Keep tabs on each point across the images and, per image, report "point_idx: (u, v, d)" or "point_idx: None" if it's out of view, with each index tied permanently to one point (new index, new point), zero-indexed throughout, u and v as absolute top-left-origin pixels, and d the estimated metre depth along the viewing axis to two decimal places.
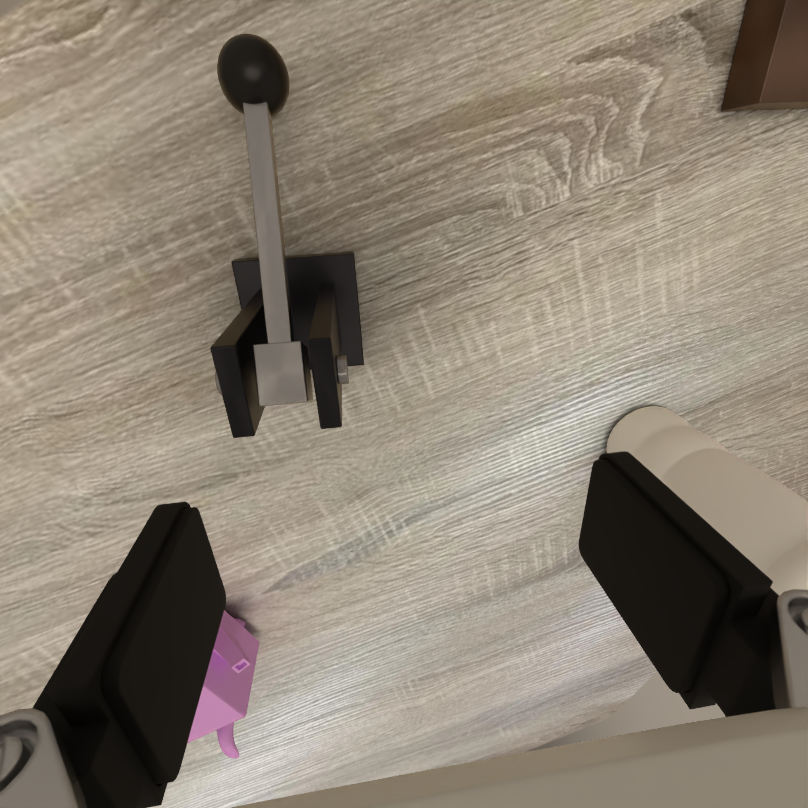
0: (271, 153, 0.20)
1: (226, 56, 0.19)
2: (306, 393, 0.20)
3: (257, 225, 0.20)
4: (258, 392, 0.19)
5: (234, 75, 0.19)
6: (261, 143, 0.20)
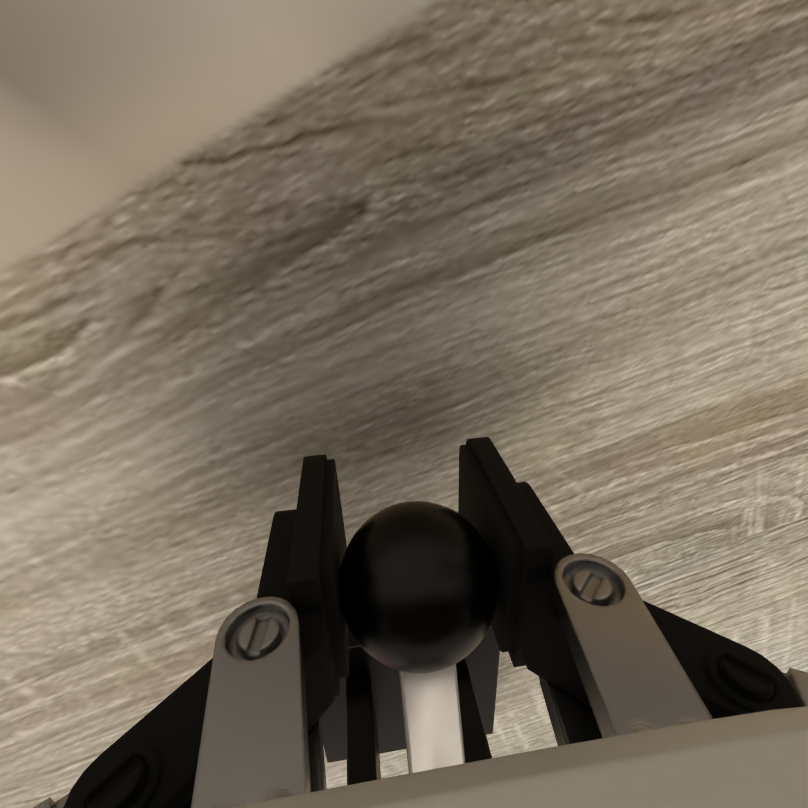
0: None
1: (378, 619, 0.07)
2: None
3: None
4: None
5: (395, 659, 0.08)
6: (442, 758, 0.08)
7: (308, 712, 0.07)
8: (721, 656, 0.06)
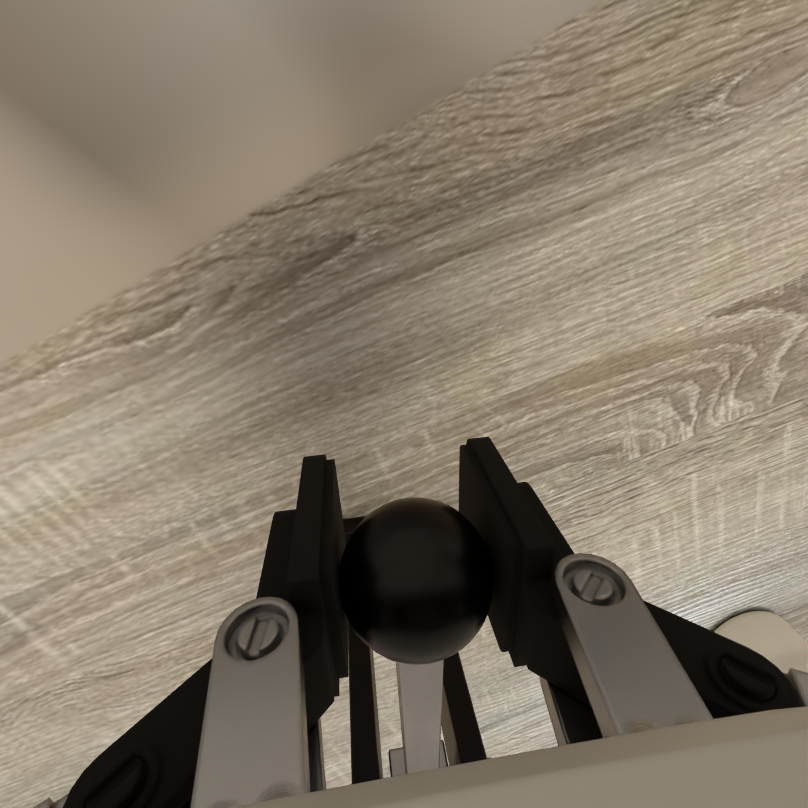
0: (441, 680, 0.11)
1: (380, 645, 0.08)
2: None
3: (406, 739, 0.13)
4: None
5: None
6: (425, 676, 0.10)
7: (308, 712, 0.07)
8: (722, 656, 0.06)
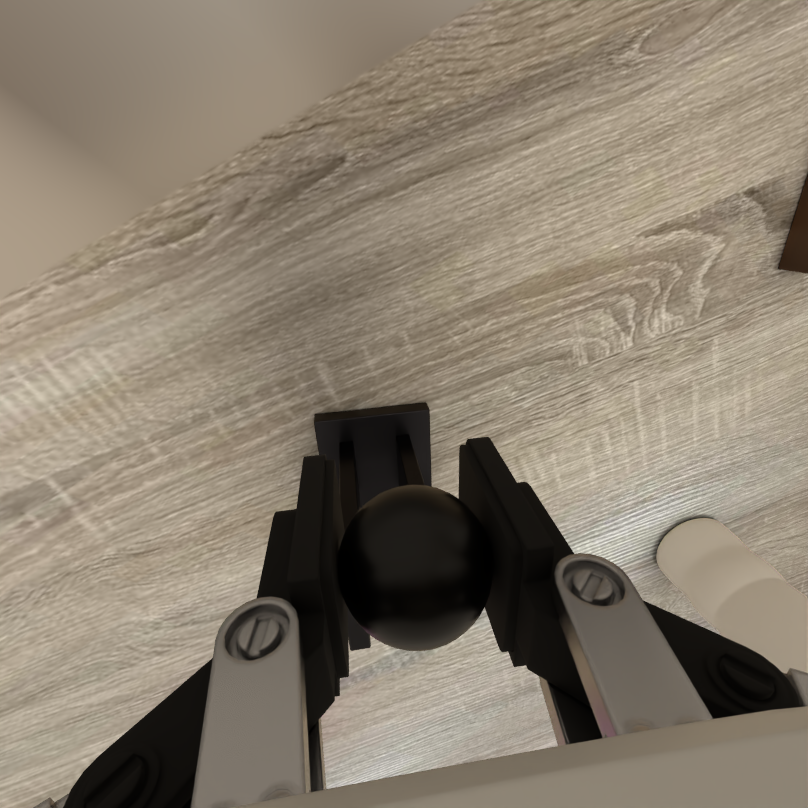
0: None
1: (381, 640, 0.08)
2: None
3: None
4: None
5: None
6: None
7: (308, 712, 0.07)
8: (720, 655, 0.06)
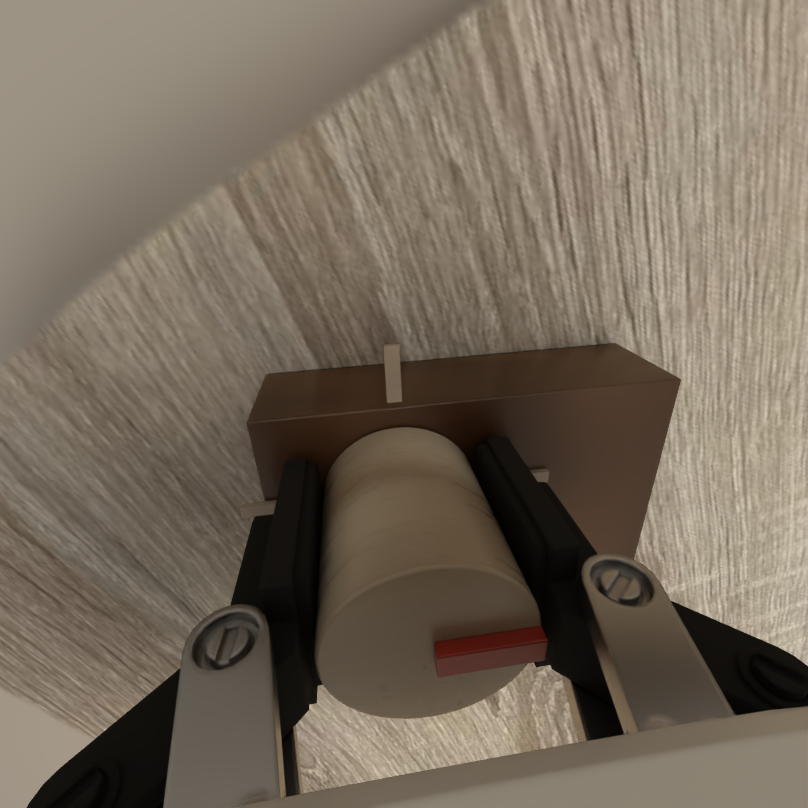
0: None
1: None
2: None
3: None
4: None
5: None
6: None
7: (282, 718, 0.07)
8: (751, 656, 0.06)
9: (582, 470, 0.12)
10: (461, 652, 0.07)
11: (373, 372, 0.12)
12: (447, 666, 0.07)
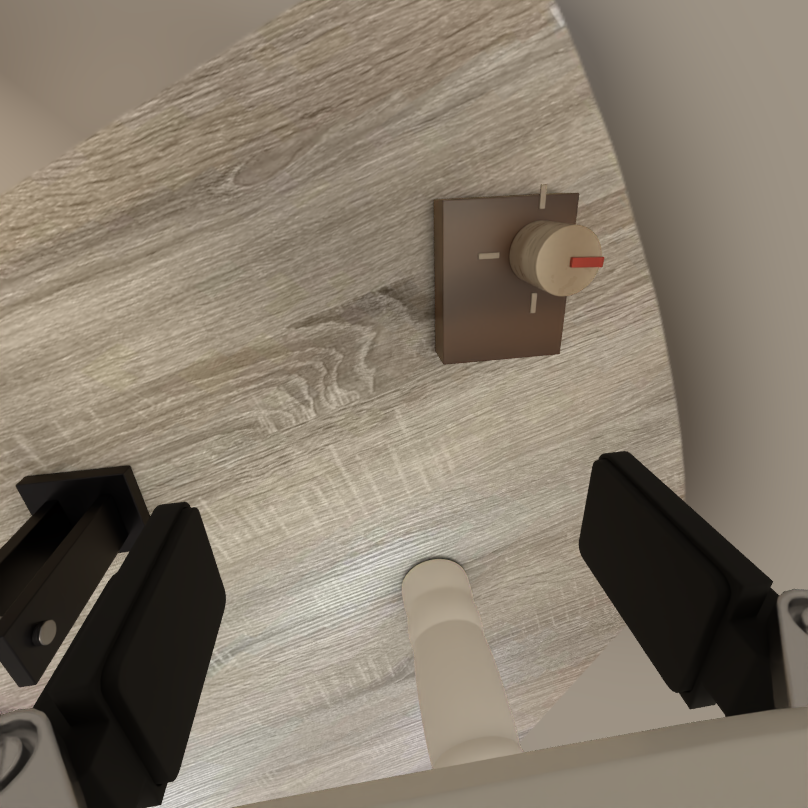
0: None
1: None
2: None
3: None
4: None
5: None
6: None
7: None
8: None
9: (530, 326, 0.31)
10: (579, 258, 0.25)
11: None
12: (575, 262, 0.25)
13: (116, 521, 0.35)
